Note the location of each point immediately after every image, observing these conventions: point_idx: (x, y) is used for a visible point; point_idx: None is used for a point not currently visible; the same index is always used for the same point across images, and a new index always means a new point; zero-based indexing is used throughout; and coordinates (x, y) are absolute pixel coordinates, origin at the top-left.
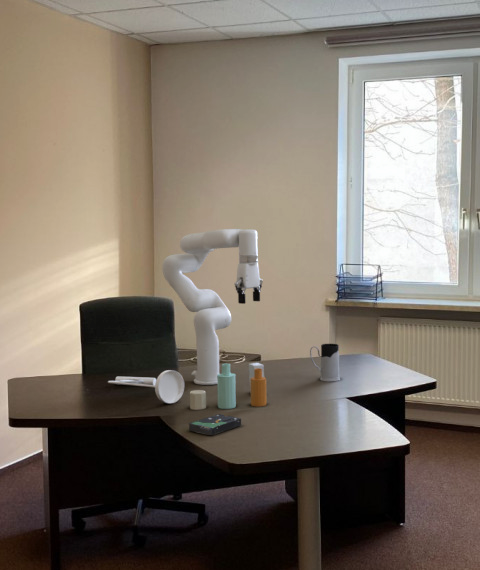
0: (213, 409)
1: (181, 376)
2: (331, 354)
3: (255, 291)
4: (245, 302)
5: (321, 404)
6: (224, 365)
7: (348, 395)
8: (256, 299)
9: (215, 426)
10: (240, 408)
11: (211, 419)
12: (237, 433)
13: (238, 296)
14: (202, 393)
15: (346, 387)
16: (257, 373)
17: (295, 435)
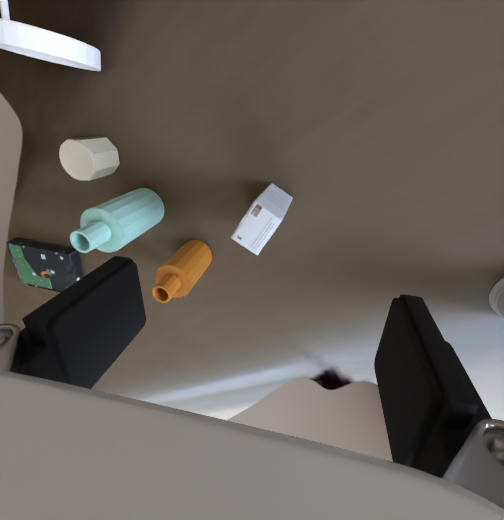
0: (117, 194)
1: (64, 54)
2: None
3: (427, 444)
4: (141, 328)
5: (261, 347)
6: (72, 243)
7: (348, 368)
8: (384, 352)
9: (30, 283)
10: (155, 237)
11: (42, 261)
12: None
13: (61, 297)
14: (78, 179)
15: None
16: (158, 291)
17: None
